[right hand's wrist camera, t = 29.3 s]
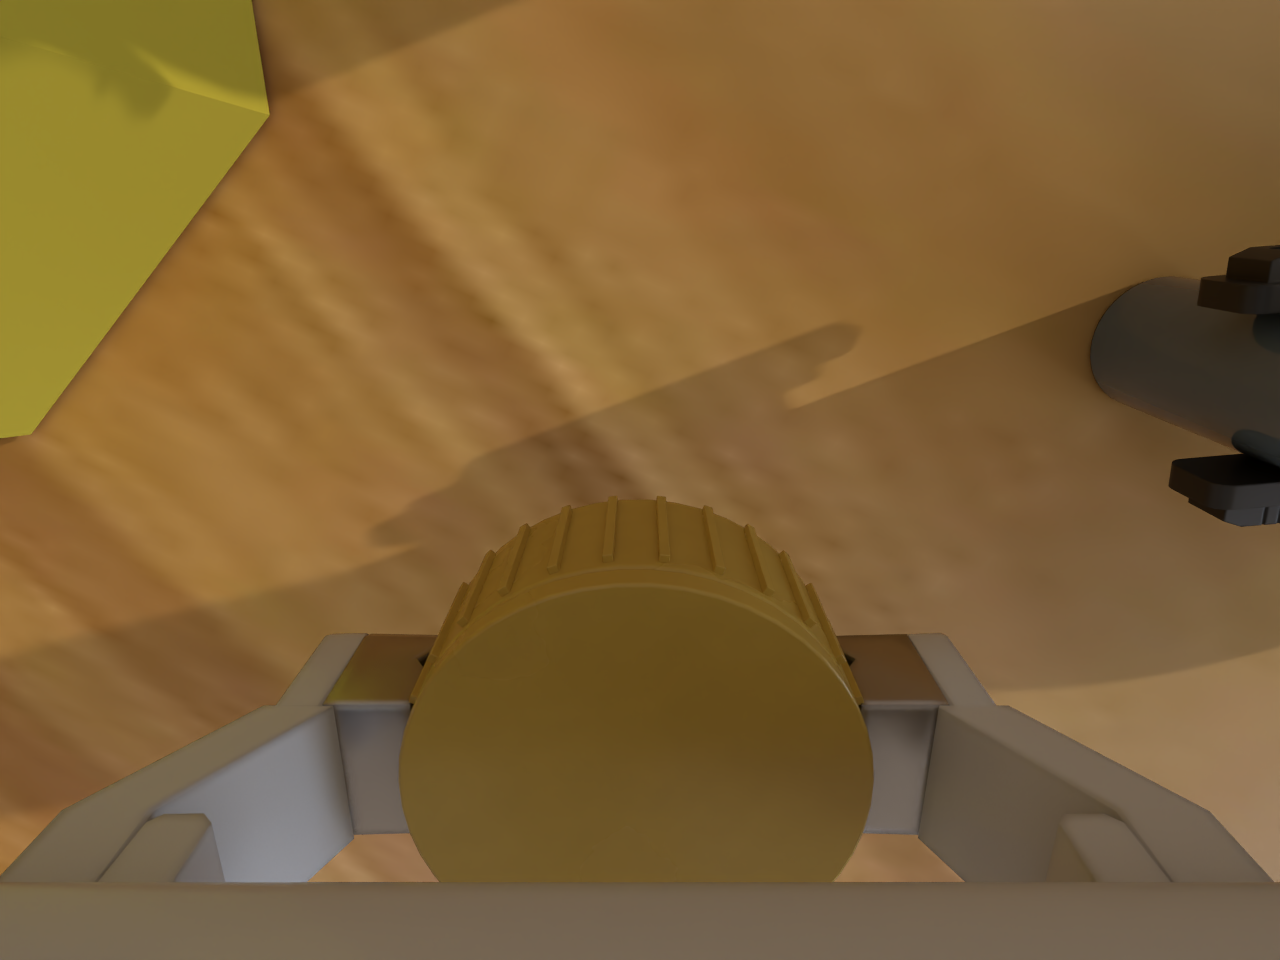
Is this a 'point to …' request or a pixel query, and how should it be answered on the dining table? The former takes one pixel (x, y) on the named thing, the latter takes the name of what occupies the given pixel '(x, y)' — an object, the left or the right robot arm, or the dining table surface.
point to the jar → (1193, 365)
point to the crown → (106, 165)
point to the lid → (636, 711)
